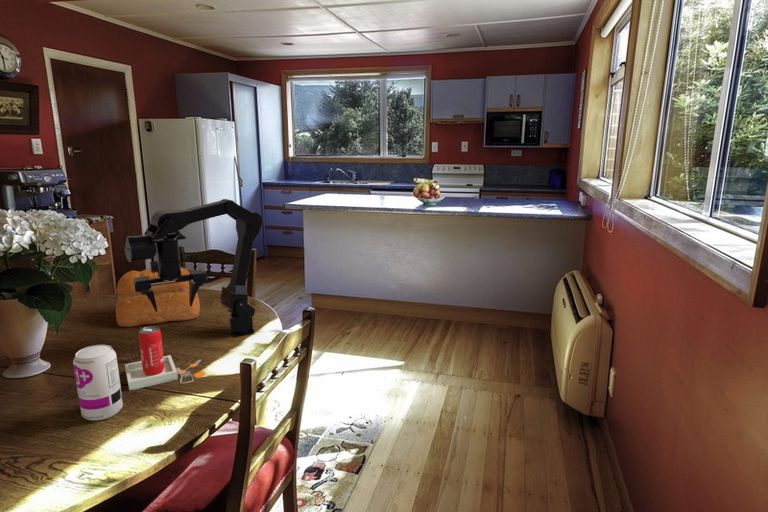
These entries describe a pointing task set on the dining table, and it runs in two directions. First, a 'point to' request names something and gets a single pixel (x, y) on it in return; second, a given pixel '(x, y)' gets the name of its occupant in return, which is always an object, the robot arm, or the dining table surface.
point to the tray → (141, 380)
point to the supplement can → (98, 382)
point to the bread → (167, 296)
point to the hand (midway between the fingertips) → (173, 308)
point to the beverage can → (151, 350)
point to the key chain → (184, 372)
